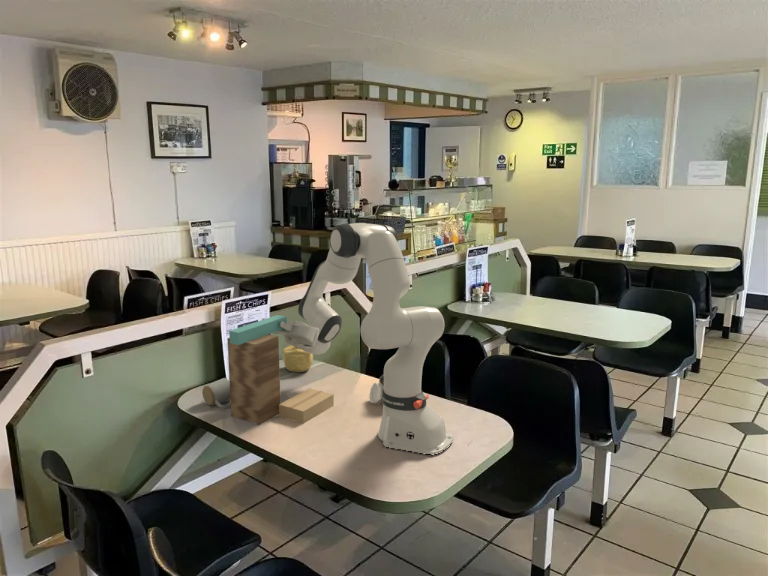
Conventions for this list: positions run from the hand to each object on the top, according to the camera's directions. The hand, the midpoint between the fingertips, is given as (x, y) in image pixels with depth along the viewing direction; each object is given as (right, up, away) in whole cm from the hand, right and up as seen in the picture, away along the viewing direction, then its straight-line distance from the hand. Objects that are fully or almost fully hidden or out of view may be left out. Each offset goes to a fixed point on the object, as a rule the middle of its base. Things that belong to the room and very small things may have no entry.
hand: (273, 322), depth 190 cm
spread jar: (+37, -28, +9) cm, 47 cm away
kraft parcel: (+11, -29, +1) cm, 31 cm away
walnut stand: (-5, -30, -2) cm, 30 cm away
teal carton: (-4, -4, -5) cm, 7 cm away
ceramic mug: (-19, -28, +7) cm, 34 cm away
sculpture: (+2, -21, +39) cm, 44 cm away
